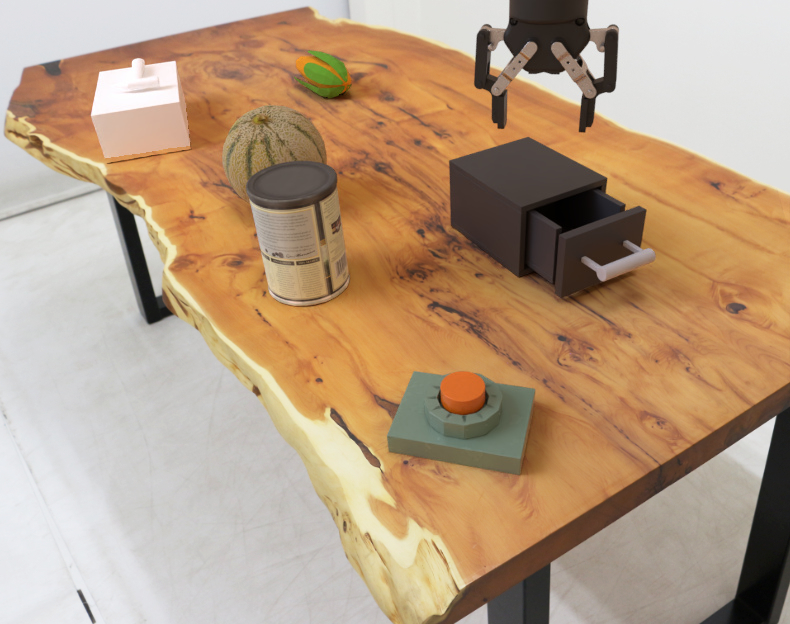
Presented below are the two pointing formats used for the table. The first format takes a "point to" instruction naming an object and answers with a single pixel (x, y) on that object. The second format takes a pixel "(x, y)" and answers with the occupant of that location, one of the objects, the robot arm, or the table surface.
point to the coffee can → (300, 231)
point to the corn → (324, 74)
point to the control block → (464, 426)
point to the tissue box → (140, 109)
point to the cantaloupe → (269, 143)
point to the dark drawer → (584, 240)
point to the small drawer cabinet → (511, 194)
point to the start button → (462, 393)
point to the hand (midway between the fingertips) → (541, 128)
